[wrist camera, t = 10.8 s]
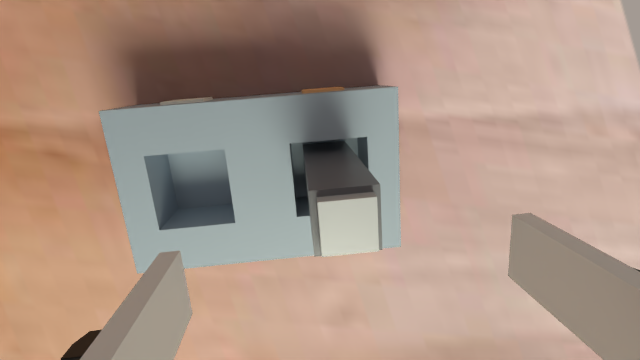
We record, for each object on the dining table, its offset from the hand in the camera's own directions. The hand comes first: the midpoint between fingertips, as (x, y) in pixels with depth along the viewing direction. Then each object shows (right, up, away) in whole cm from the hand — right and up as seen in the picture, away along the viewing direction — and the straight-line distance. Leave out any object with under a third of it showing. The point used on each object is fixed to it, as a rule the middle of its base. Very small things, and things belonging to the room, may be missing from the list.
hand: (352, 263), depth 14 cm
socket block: (-6, +5, +18) cm, 19 cm away
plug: (-1, +5, +16) cm, 17 cm away
